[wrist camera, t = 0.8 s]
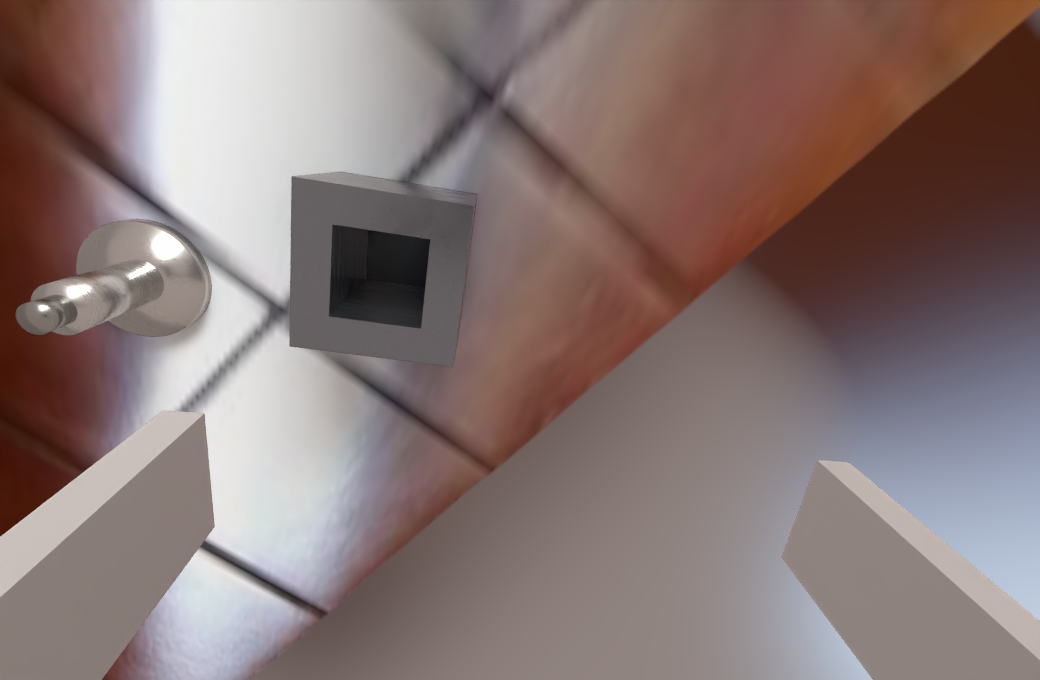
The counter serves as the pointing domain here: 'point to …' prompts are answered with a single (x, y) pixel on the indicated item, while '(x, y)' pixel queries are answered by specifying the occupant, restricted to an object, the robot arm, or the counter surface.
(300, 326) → the block
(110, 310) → the hub
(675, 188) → the counter surface
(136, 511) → the robot arm
